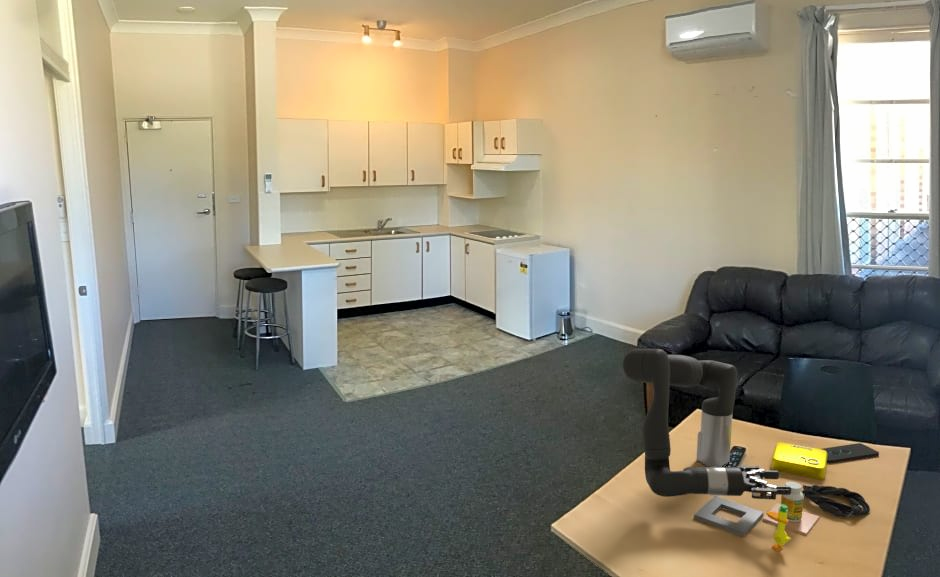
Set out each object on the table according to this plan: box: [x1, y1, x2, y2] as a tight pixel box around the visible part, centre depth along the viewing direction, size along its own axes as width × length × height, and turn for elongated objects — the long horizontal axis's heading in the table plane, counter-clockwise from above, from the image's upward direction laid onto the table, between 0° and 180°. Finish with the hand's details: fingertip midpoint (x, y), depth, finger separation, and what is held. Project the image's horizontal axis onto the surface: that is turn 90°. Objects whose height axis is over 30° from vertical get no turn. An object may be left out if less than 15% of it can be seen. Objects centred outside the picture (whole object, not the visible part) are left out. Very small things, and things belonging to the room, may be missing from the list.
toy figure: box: [765, 503, 792, 552], centre depth 167 cm, size 7×4×12 cm, turn 37°
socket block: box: [693, 495, 764, 538], centre depth 183 cm, size 14×14×1 cm
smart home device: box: [820, 442, 880, 464], centre depth 219 cm, size 8×2×20 cm
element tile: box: [770, 441, 828, 481], centre depth 212 cm, size 15×15×5 cm
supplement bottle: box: [780, 481, 805, 522], centre depth 180 cm, size 5×5×10 cm
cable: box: [801, 484, 871, 518], centre depth 189 cm, size 17×14×4 cm
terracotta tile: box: [762, 502, 820, 536], centre depth 181 cm, size 11×11×1 cm
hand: (784, 482), depth 180 cm, fingers open, 8 cm apart
